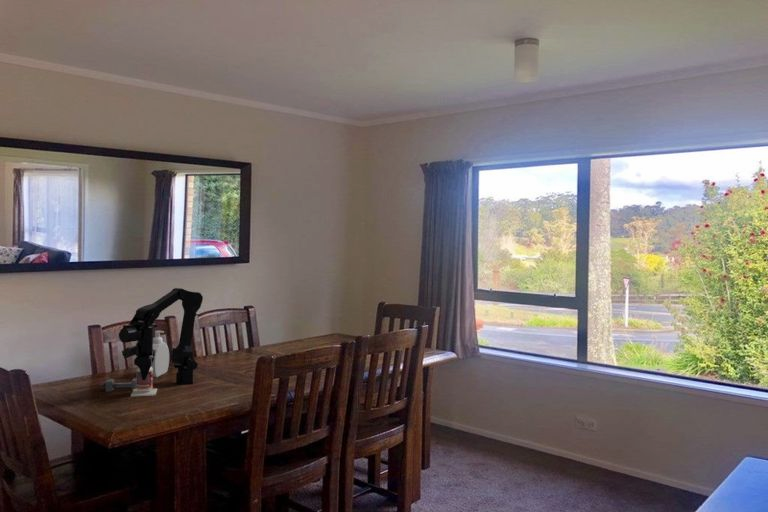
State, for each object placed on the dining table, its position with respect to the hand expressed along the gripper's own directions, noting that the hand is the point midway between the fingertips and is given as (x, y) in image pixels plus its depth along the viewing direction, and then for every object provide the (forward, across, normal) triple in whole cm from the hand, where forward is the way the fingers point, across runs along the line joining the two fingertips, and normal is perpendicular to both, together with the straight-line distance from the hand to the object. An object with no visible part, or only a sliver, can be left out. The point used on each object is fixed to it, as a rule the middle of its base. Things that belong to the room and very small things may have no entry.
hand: (144, 378), depth 240 cm
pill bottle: (+5, 0, 0) cm, 5 cm away
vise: (+6, -9, -11) cm, 15 cm away
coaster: (+6, 0, 0) cm, 6 cm away
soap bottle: (+6, -33, +2) cm, 34 cm away
